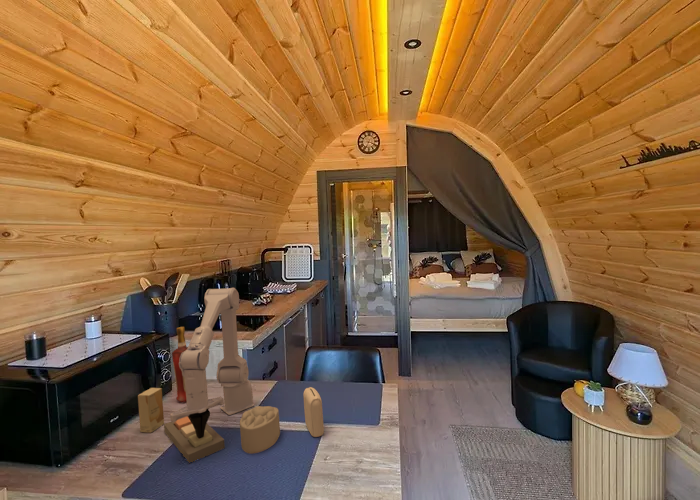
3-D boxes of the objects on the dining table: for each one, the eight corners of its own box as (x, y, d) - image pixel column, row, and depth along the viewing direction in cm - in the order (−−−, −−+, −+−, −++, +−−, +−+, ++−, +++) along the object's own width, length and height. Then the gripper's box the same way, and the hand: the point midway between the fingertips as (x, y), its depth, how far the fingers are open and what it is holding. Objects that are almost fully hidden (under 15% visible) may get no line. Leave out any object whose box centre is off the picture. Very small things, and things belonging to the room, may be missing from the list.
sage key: (206, 436, 111) (205, 429, 111) (212, 442, 107) (212, 436, 107) (189, 443, 108) (188, 436, 108) (195, 450, 104) (194, 443, 104)
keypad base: (196, 420, 125) (195, 412, 125) (224, 448, 107) (224, 439, 107) (164, 431, 119) (163, 424, 119) (189, 463, 101) (188, 454, 101)
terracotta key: (190, 420, 122) (190, 414, 122) (196, 425, 118) (195, 419, 118) (174, 426, 118) (174, 420, 118) (179, 432, 115) (179, 425, 115)
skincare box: (151, 433, 118) (148, 395, 118) (139, 432, 119) (136, 395, 119) (165, 423, 125) (162, 387, 124) (154, 422, 126) (151, 387, 125)
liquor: (184, 395, 147) (178, 325, 145) (200, 395, 145) (194, 325, 144) (171, 403, 140) (165, 330, 138) (188, 404, 138) (182, 330, 137)
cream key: (198, 428, 116) (197, 421, 116) (203, 433, 113) (203, 427, 113) (181, 434, 113) (181, 428, 113) (186, 440, 109) (186, 434, 109)
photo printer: (303, 423, 119) (301, 385, 118) (316, 420, 120) (314, 382, 120) (311, 439, 109) (309, 398, 109) (325, 435, 111) (323, 395, 110)
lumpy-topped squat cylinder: (283, 429, 116) (281, 402, 116) (269, 454, 103) (266, 423, 103) (251, 429, 117) (249, 402, 117) (233, 453, 104) (231, 423, 104)
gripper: (174, 403, 99) (178, 452, 100) (226, 386, 109) (230, 431, 109) (166, 395, 105) (170, 442, 105) (217, 380, 114) (220, 423, 115)
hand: (200, 436), depth 108 cm, fingers closed, pressing on sage key
